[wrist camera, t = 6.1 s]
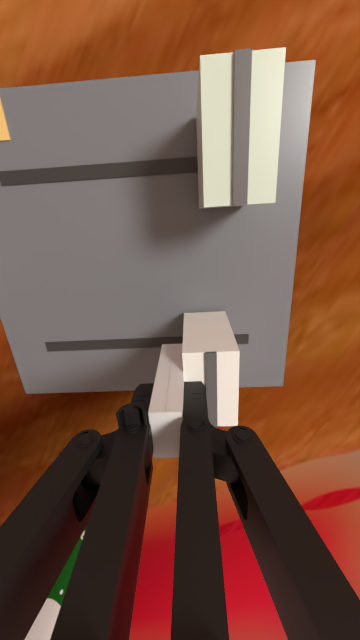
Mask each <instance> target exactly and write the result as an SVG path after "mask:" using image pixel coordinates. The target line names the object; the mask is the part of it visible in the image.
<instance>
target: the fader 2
mask: <svg viewBox="0 0 360 640" xmlns="http://www.w3.org/2000/svg"><path fill="white" fill-rule="evenodd" d="M285 53H286V47H285V48H274V49H264V50H253V51H252V48H250V49H239V50H235V51H234V52H232V53H221V54H211V55H200V64H199V78H198V92H197V106H196V128H197V160H198V193H199V209H200V208H216V207H231V206H247V205H257V204H268V203H275V202H276V187H277V172H278V157H279V142H280V128H281V113H282V98H283V83H284V68H285Z"/></svg>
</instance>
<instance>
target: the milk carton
mask: <svg viewBox="0 0 360 640" xmlns="http://www.w3.org/2000/svg"><path fill="white" fill-rule="evenodd" d="M86 527H87V526H86ZM85 530H86V528H85ZM85 530H84V532H83V533H82V535H81V537H80V539H79V541H78V543H77V544H76V546H75V548H74V550H73V552H72V554H71V555H70V557H69V559H68V561H67V563H66V565H65V566H64V568H63V570H62V572H61V574H60V576H59V577H58V579H57V581H56V583H55V585H54V587H53V588H52V590H51V592H50V594H49V596H48V598H47V599H46V601H45V603H44V605H43V607H42V609H41V610H40V612H39V614H38V616H37V618H36V620H35V621H34V623H33V625H32V627H31V629H30V631H29V632H28V634H27V636H26V638H25V640H50V638H51V635H52V632H53V629H54V626H55V623H56V620H57V617H58V614H59V611H60V607H61V604H62V601H63V598H64V595H65V592H66V589H67V586H68V583H69V580H70V577H71V573H72V570H73V567H74V564H75V561H76V558H77V555H78V552H79V549H80V546H81V543H82V540H83V536H84V533H85Z"/></svg>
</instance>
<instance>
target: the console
mask: <svg viewBox="0 0 360 640" xmlns="http://www.w3.org/2000/svg"><path fill="white" fill-rule="evenodd" d="M315 62H316V60H308V61H297V62H286V63H285V68H284V83H283V98H282V113H281V128H280V142H279V157H278V172H277V187H276V202H275V203H268V204H257V205H247V206H231V207H216V208H200V209H199V193H198V160H197V128H196V106H197V92H198V78H199V70H198V71H187V72H176V73H165V74H154V75H143V76H132V77H121V78H110V79H99V80H88V81H77V82H66V83H55V84H45V85H34V86H23V87H12V88H1V89H0V318H1V321H2V324H3V327H4V330H5V333H6V336H7V339H8V342H9V345H10V348H11V351H12V354H13V357H14V360H15V363H16V366H17V369H18V372H19V375H20V378H21V381H22V384H23V387H24V390H25V393H26V394H39V393H72V392H104V391H135V389H136V388H137V387H138V386H139V385H140V384H145V383H154V382H155V377H156V372H157V367H158V362H159V358H160V353H161V348H162V344H183V324H184V313H195V312H218V311H225V312H226V315H227V317H228V320H229V323H230V326H231V328H232V331H233V334H234V337H235V339H236V342H237V345H238V348H239V351H240V358H239V387H268V386H283V381H284V371H285V361H286V351H287V341H288V331H289V321H290V311H291V301H292V291H293V281H294V271H295V261H296V251H297V241H298V231H299V221H300V211H301V201H302V191H303V181H304V171H305V161H306V151H307V141H308V131H309V121H310V111H311V101H312V92H313V82H314V72H315Z"/></svg>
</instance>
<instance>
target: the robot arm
mask: <svg viewBox="0 0 360 640" xmlns="http://www.w3.org/2000/svg"><path fill="white" fill-rule="evenodd" d="M182 345H183V344H162V348H161V353H160V358H159V362H158V367H157V372H156V377H155V382H154V383H145V384H140V385H139V386H138V387H137V388H136V389H135V391H134V395H133V398H132V402H131V404H127V405H125V406H122V407H121V408H120V409H119V410H118V411H117V413H116V416H117V421H118V426H119V428H118V430H116V431H114V432H112V433H109V434H105V435H100V433H99V432H98V431H96V430H85V431H82V432H80V433H78V434H77V435H76V436H74V437H73V438H72V440H71V441H70V442H69V443H68V444H67V446H66V447H65V448H64V449H63V451H62V452H61V453H60V454H59V456H58V457H57V458H56V459H55V460H54V462H53V463H52V464H51V465H50V467H49V468H48V469H47V470H46V472H45V473H44V474H43V475H42V476H41V478H40V479H39V480H38V481H37V483H36V484H35V485H34V486H33V488H32V489H31V490H30V491H29V492H28V494H27V495H26V496H25V497H24V499H23V500H22V501H21V502H20V504H19V505H18V506H17V507H16V508H15V510H14V511H13V512H12V513H11V515H10V516H9V517H8V518H7V520H6V521H5V522H4V523H3V524H2V526H1V527H0V640H25V638H26V636H27V634H28V632H29V631H30V629H31V627H32V625H33V623H34V621H35V620H36V618H37V616H38V614H39V612H40V610H41V609H42V607H43V605H44V603H45V601H46V599H47V598H48V596H49V594H50V592H51V590H52V588H53V587H54V585H55V583H56V581H57V579H58V577H59V576H60V574H61V572H62V570H63V568H64V566H65V565H66V563H67V561H68V559H69V557H70V555H71V554H72V552H73V550H74V548H75V546H76V544H77V543H78V541H79V539H80V537H81V535H82V533H83V532H84V530H85V528H86V530H85V533H84V536H83V540H82V543H81V546H80V549H79V552H78V555H77V558H76V561H75V564H74V567H73V570H72V573H71V577H70V580H69V583H68V586H67V589H66V592H65V595H64V598H63V601H62V604H61V607H60V611H59V614H58V617H57V620H56V623H55V626H54V629H53V632H52V635H51V638H50V640H129V635H130V628H131V620H132V614H133V606H134V599H135V592H136V585H137V578H138V571H139V564H140V557H141V550H142V542H143V535H144V528H145V521H146V514H147V507H148V500H149V492H150V485H151V478H152V471H153V464H152V456H153V454H154V458H179V470H178V492H177V515H176V536H175V537H176V538H175V559H174V581H173V602H172V624H171V640H229V634H228V623H227V612H226V602H225V589H224V579H223V567H222V557H221V545H220V534H219V523H218V512H217V501H216V490H215V479H214V478H216V479H220V480H223V481H226V483H227V486H228V489H229V491H230V494H231V496H232V499H233V501H234V503H235V506H236V508H237V511H238V514H239V516H240V519H241V521H242V524H243V526H244V529H245V531H246V534H247V537H248V539H249V541H250V544H251V547H252V549H253V552H254V554H255V557H256V559H257V562H258V564H259V567H260V569H261V572H262V574H263V577H264V579H265V582H266V584H267V587H268V589H269V592H270V594H271V597H272V600H273V602H274V605H275V607H276V610H277V612H278V615H279V617H280V620H281V622H282V625H283V627H284V630H285V633H286V635H287V638H288V640H360V600H359V598H358V596H357V595H356V593H355V592H354V590H353V588H352V587H351V585H350V584H349V582H348V581H347V579H346V577H345V576H344V574H343V572H342V571H341V569H340V568H339V566H338V564H337V563H336V561H335V560H334V558H333V556H332V555H331V553H330V552H329V550H328V548H327V547H326V545H325V544H324V542H323V540H322V539H321V537H320V535H319V534H318V532H317V531H316V529H315V527H314V526H313V524H312V523H311V521H310V519H309V518H308V516H307V515H306V513H305V511H304V510H303V508H302V506H301V505H300V503H299V502H298V500H297V498H296V497H295V495H294V494H293V492H292V490H291V489H290V487H289V486H288V484H287V482H286V481H285V479H284V478H283V476H282V474H281V473H280V471H279V470H278V468H277V466H276V465H275V463H274V461H273V460H272V458H271V457H270V455H269V453H268V452H267V450H266V449H265V447H264V445H263V444H262V442H261V441H260V439H259V437H258V436H257V434H256V433H255V432H254V431H253V430H252V429H250V428H248V427H246V426H234V427H232V428H230V429H229V430H228V431H224V430H220V429H217V428H216V427H214V426H213V425H212V424H211V423H210V421H209V418H208V408H207V397H206V387H205V385H204V384H203V383H202V381H191V382H184V375H183V359H182ZM86 526H87V527H86Z"/></svg>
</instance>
